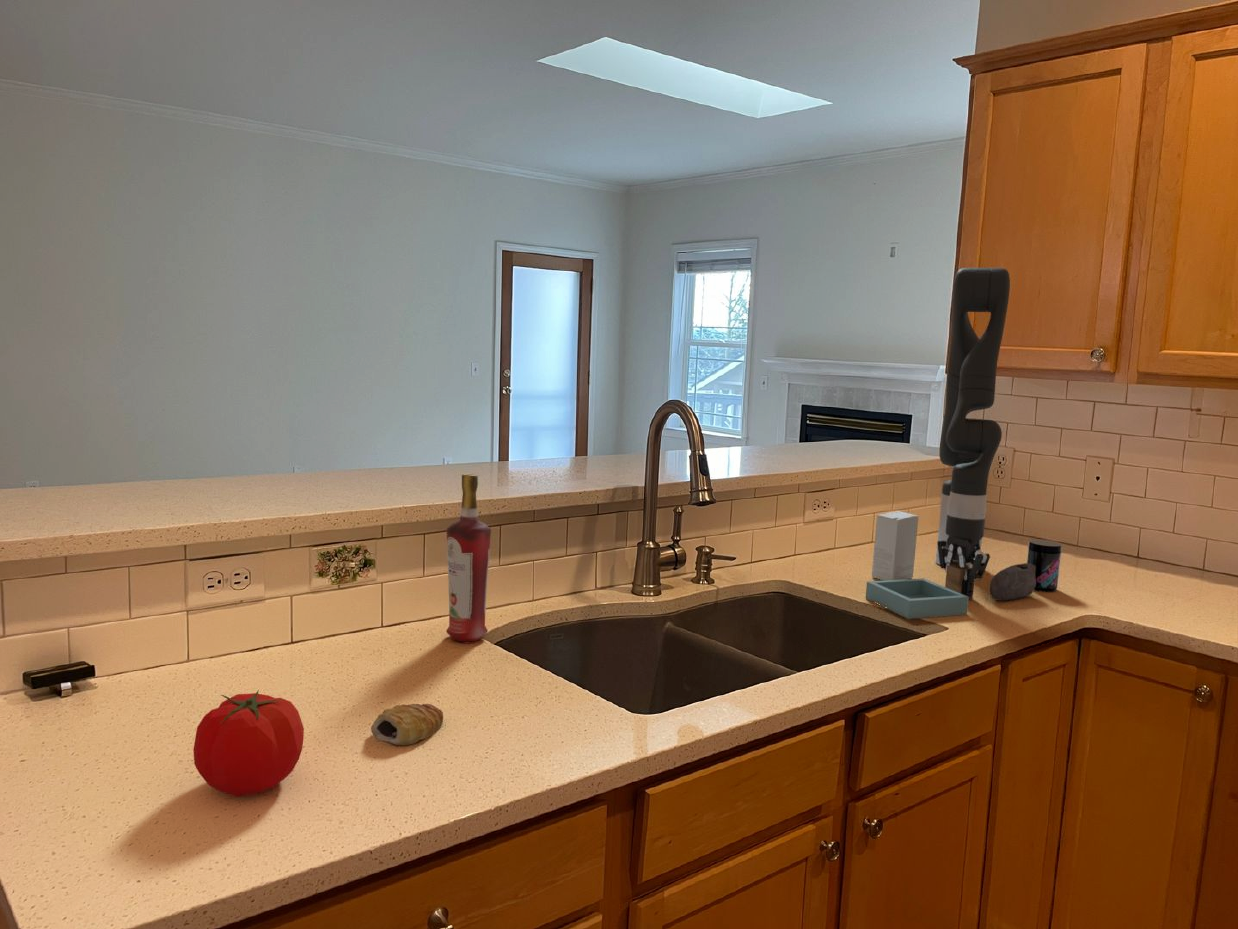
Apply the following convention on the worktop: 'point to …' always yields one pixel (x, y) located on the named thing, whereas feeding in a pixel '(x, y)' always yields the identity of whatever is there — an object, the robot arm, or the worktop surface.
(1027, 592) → the perforated stone tool
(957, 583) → the walnut block
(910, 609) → the tray
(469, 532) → the liquor
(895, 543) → the skincare box
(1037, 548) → the supplement container
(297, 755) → the tomato
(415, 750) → the worktop surface
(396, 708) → the pastry
